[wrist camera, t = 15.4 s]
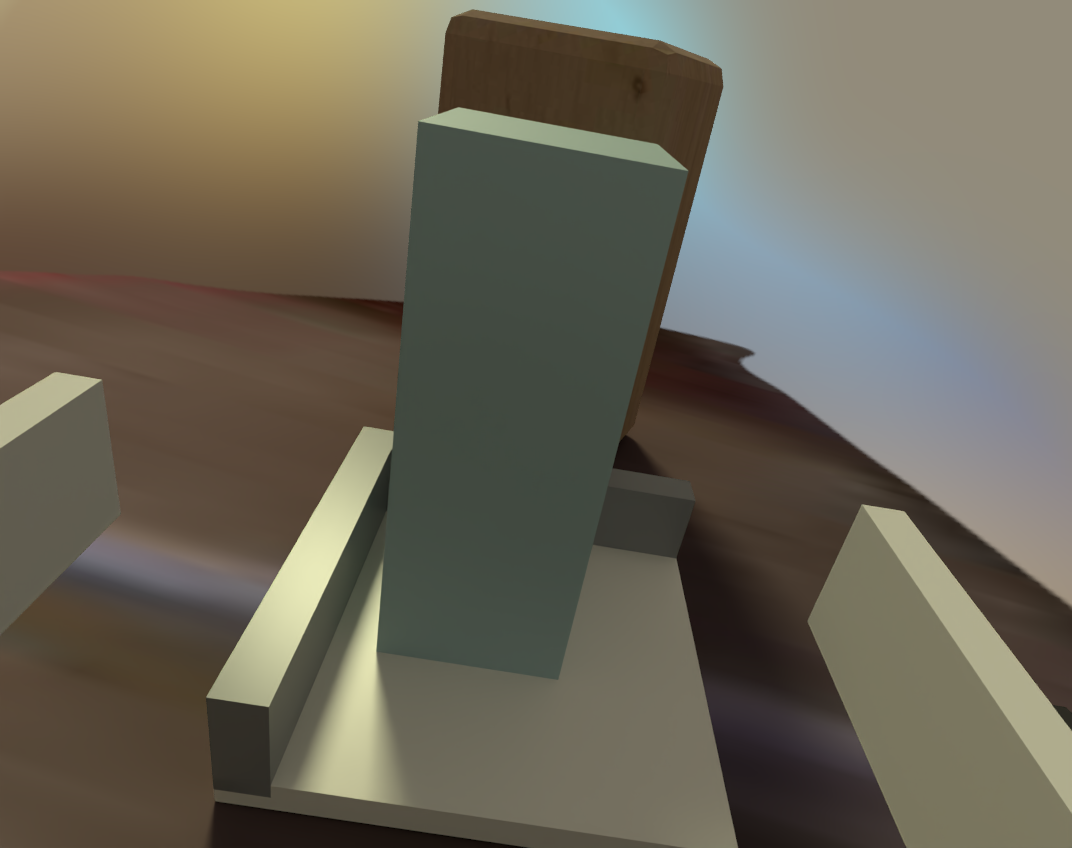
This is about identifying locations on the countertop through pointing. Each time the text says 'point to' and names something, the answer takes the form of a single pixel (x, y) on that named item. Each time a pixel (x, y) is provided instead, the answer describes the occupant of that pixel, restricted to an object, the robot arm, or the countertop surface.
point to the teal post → (514, 378)
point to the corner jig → (476, 694)
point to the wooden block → (590, 102)
